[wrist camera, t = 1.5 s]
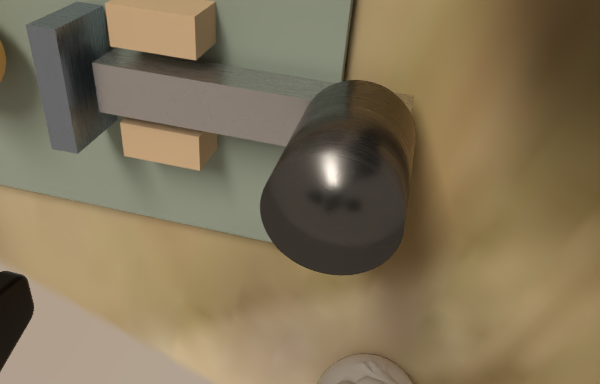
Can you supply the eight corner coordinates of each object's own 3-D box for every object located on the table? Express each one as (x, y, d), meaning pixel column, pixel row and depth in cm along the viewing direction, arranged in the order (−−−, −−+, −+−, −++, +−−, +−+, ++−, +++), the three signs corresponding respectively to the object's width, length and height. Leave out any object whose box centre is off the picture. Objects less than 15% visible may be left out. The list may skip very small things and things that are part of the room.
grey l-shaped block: (432, 55, 17) (421, 155, 12) (406, 173, 20) (388, 299, 14) (76, 1, 19) (-69, 67, 14) (94, 115, 22) (-23, 207, 16)
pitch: (369, -132, 16) (357, -126, 14) (322, 243, 24) (310, 281, 22) (-282, -199, 19) (-366, -202, 17) (-132, 148, 27) (-177, 173, 25)
